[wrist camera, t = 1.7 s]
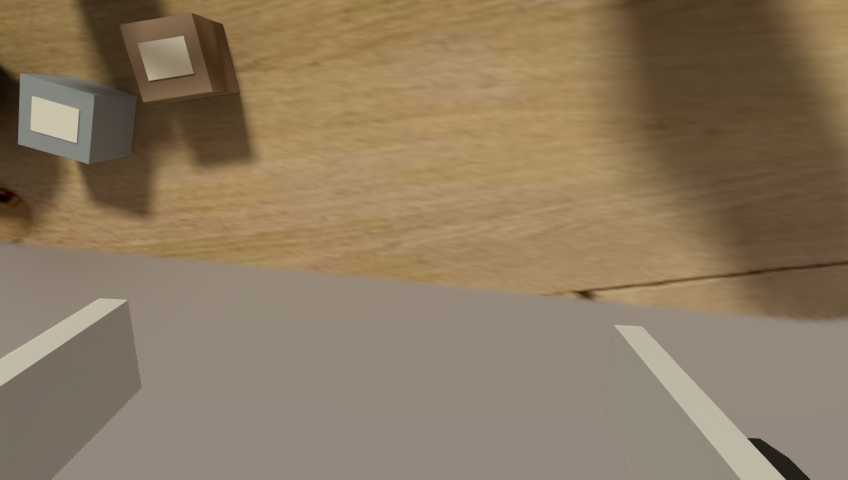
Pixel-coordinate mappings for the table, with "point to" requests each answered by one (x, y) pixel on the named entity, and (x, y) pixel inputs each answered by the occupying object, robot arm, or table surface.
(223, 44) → the walnut block
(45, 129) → the slate block
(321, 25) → the table surface
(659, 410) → the robot arm
